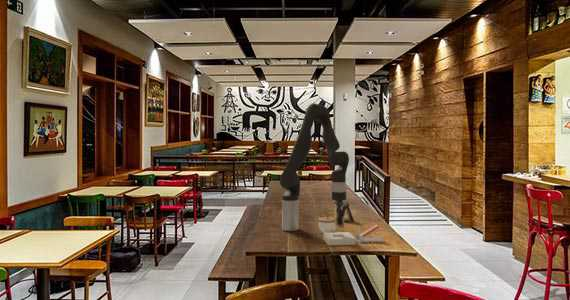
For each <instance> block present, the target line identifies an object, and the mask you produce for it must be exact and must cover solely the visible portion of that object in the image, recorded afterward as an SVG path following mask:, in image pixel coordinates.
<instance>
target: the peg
mask: <svg viewBox="0 0 570 300" xmlns="http://www.w3.org/2000/svg"><path fill="white" fill-rule="evenodd" d="M333 208H334V218H335V227H336V229H343V228H345V222H344V219H345V216H344V217H342V225H338V217H337V216H338V213H337V208H336V207H334V206H333ZM338 211H339V210H338ZM340 215H341V213H340Z"/></svg>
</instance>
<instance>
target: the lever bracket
mask: <svg viewBox="0 0 570 300" xmlns="http://www.w3.org/2000/svg"><path fill="white" fill-rule="evenodd" d="M360 234H361V232H359V233H356V237H354V238H355V239H356V243H358V244H362V243H385V239H384V238H382V237H363V236H359V238H358V235H360Z"/></svg>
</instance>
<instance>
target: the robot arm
mask: <svg viewBox="0 0 570 300" xmlns="http://www.w3.org/2000/svg"><path fill="white" fill-rule="evenodd" d="M314 122H318V123H320V125H321V127H322V135H321V136H322V137H321V138H322V140H323V143H324V146H325V148H326V153H327V161H328V163H329V164H330V165H331V166H335V167H336V166H338V168H337V169H334V170H332V172H331V186H330V187H331V200H332V201H334V202H333V208H334V207H336V208H337V213H338V216H337V217H338V225H342V217H344V218H345V214H344V205H343V201H347V182H346V181H347V179H346V177H347V176H346V175H347V170H348V166H349V163H350V156H349V154H348V152H347V151H344V150H343V151H338V150H339V149H340V147H341V145H340V142H339V140H338V138H337V136H336V134H335V131H334V128H333V125H332V121H331V116H330V113H329V110H328V108H327V107H326V106H325V105H322V104H318V103H315V102H314V103H310V104H309V105H308V106H307V107H306V110H305V113H304V117H303V121H302V124H301V127H300V130H299V133H298V135H297V138H296V140H295V143H294V145H293V147H292V150H291V153H290V156H289V158H288V161H287V163H286V165H285V167H284V169H283V171H282V173H281V174H280V177H279V184H280V186H281V188H282V189H285V191H284V193H283V194H282V198H281V199H282V201H281V203H282V205H281V206H282V213H281V230H282V231H285V232H286V231H288V232H290V231H291V232H294V231H295V232H296V231H298V230H299V196H300V193H301V191H300V190H301V179H300V175H299V174H298V173H297V172H298V169H299V168H300V166H301V165H302V164H303V163H304V161H305V160H306V159H307V157H308V156H309V154H310V152H311V149H312V146H313V138H312V127H313V124H314ZM338 210H339V211H338ZM340 213H341V215H340Z"/></svg>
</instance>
